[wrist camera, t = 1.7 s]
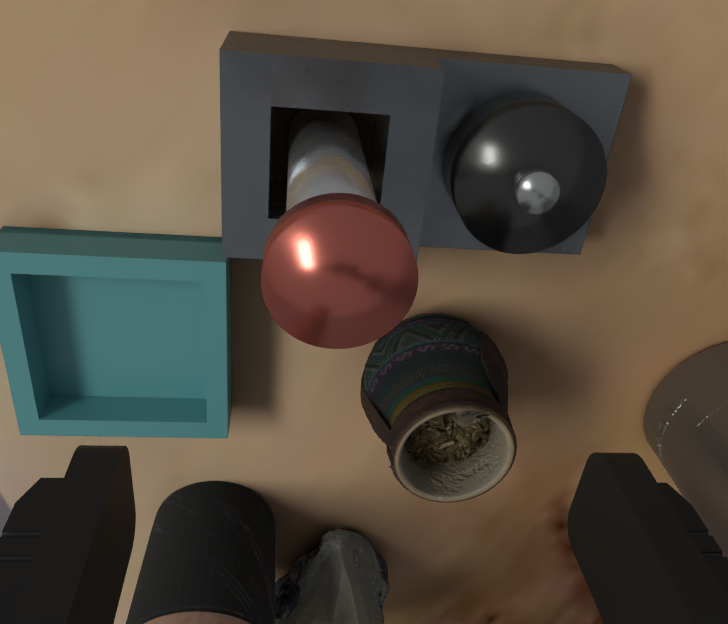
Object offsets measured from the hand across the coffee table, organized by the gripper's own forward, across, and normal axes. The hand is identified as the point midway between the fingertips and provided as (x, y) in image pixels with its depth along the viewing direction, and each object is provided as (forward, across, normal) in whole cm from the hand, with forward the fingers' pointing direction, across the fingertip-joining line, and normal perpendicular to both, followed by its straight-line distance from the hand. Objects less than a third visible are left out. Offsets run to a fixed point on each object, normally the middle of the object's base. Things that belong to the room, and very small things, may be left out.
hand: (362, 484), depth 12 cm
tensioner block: (+20, -4, 0) cm, 21 cm away
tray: (+20, +9, +10) cm, 24 cm away
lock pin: (+20, 0, 0) cm, 21 cm away
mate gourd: (+21, -6, +11) cm, 24 cm away
